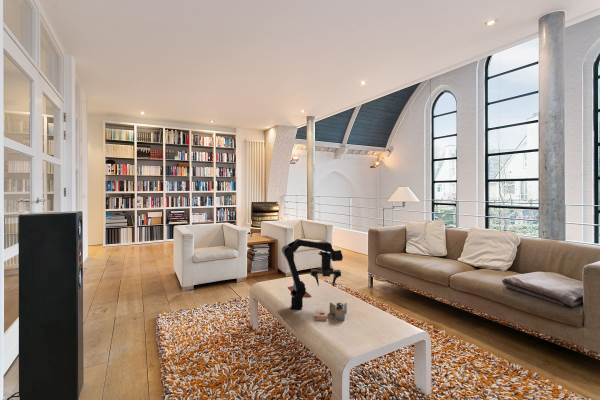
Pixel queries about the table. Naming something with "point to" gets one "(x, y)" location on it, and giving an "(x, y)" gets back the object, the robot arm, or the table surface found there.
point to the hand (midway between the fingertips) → (325, 286)
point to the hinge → (338, 311)
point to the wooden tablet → (303, 296)
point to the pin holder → (321, 315)
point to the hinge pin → (339, 305)
